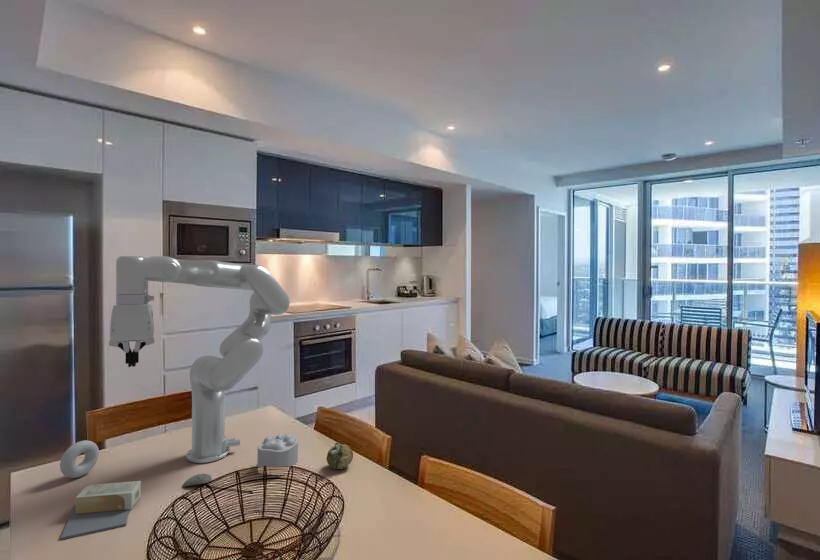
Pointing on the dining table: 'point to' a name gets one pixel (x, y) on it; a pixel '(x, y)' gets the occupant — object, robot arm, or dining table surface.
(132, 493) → the skincare box
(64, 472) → the donut
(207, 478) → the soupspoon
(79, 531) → the mat
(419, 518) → the dining table surface
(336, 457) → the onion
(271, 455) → the lumpy-topped squat cylinder
